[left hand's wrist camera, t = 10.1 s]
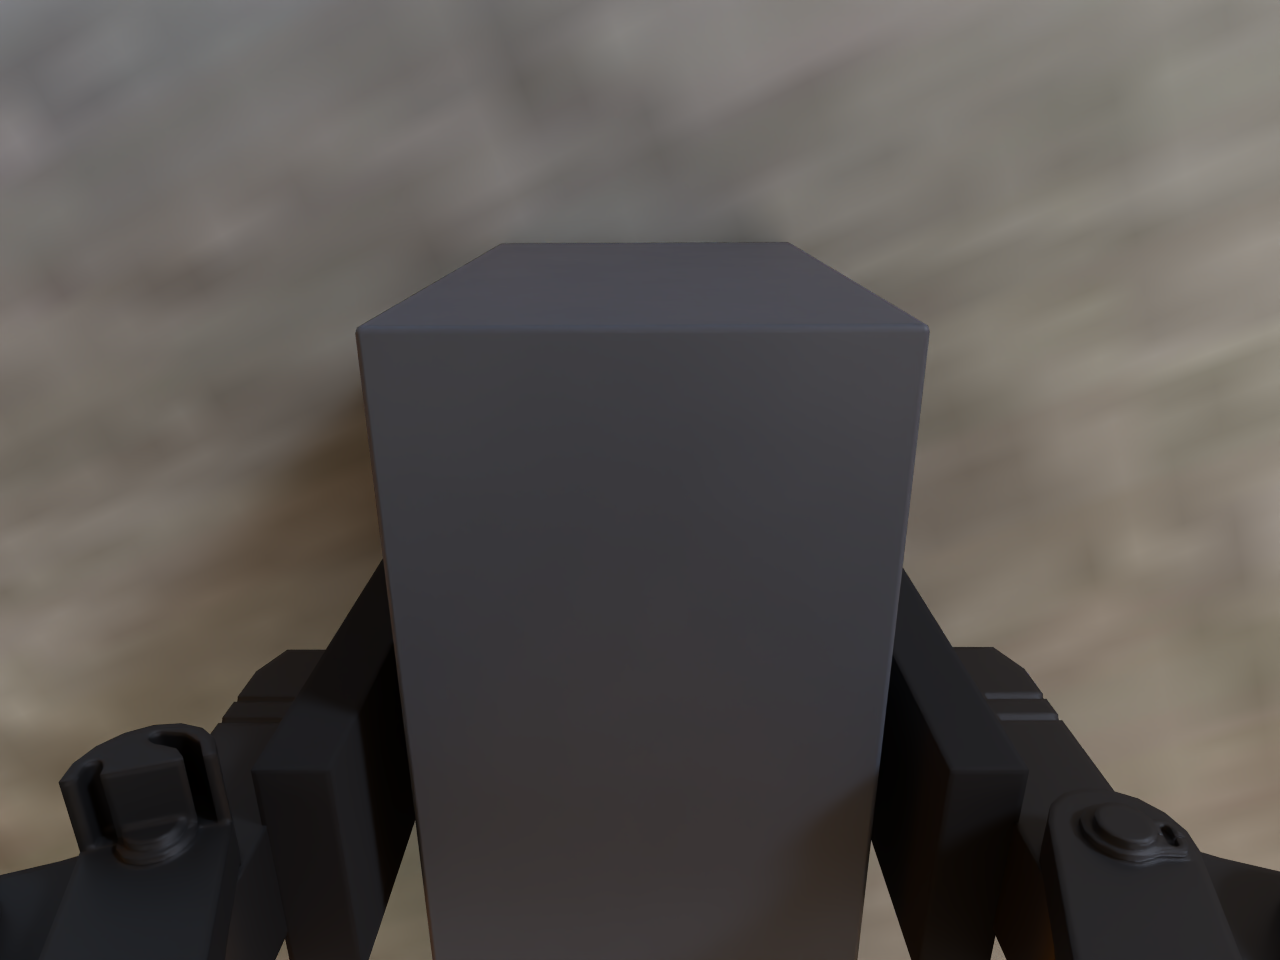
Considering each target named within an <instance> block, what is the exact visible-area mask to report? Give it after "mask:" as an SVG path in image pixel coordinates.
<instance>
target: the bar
mask: <svg viewBox="0 0 1280 960" xmlns="http://www.w3.org/2000/svg"><path fill="white" fill-rule="evenodd" d="M929 333H930V331H929V327H928V325H926V324H924V323H923V322H921V321H919V320H918V319H916V318H914V317H913V316H911V315H909V314H908V313H906V312H904V311H903V310H901V309H899V308H898V307H896V306H894V305H893V304H891V303H889V302H888V301H886V300H884V299H883V298H881V297H879V296H878V295H876V294H874V293H873V292H871V291H869V290H868V289H866V288H864V287H863V286H861V285H859V284H857V283H856V282H854V281H852V280H851V279H849V278H847V277H846V276H844V275H842V274H841V273H839V272H837V271H836V270H834V269H832V268H831V267H829V266H827V265H826V264H824V263H822V262H821V261H819V260H817V259H816V258H814V257H812V256H811V255H809V254H807V253H806V252H804V251H802V250H801V249H799V248H797V247H796V246H794V245H792V244H790V243H788V242H764V243H541V244H500V245H498V246H496V247H495V248H493V249H491V250H489V251H488V252H486V253H484V254H483V255H481V256H479V257H477V258H476V259H474V260H472V261H471V262H469V263H467V264H465V265H464V266H462V267H460V268H459V269H457V270H455V271H453V272H452V273H450V274H448V275H447V276H445V277H443V278H441V279H440V280H438V281H436V282H434V283H433V284H431V285H429V286H428V287H426V288H424V289H422V290H421V291H419V292H417V293H416V294H414V295H412V296H410V297H409V298H407V299H405V300H404V301H402V302H400V303H398V304H397V305H395V306H393V307H392V308H390V309H388V310H386V311H385V312H383V313H381V314H380V315H378V316H376V317H374V318H373V319H371V320H369V321H367V322H366V323H364V324H362V325H361V326H359V327H357V329H356V333H355V335H356V343H357V351H358V359H359V367H360V375H361V383H362V391H363V399H364V408H365V416H366V424H367V432H368V440H369V448H370V456H371V464H372V472H373V480H374V489H375V497H376V505H377V513H378V521H379V529H380V537H381V545H382V553H383V561H384V570H385V578H386V586H387V594H388V602H389V610H390V618H391V626H392V634H393V642H394V650H395V659H396V667H397V675H398V683H399V691H400V699H401V707H402V715H403V723H404V731H405V740H406V748H407V756H408V764H409V772H410V780H411V788H412V796H413V804H414V812H415V820H416V829H417V837H418V845H419V853H420V861H421V869H422V877H423V885H424V893H425V901H426V910H427V918H428V926H429V934H430V942H431V950H432V958H433V960H857V958H858V949H859V940H860V932H861V923H862V914H863V906H864V897H865V888H866V880H867V871H868V862H869V854H870V845H871V836H872V828H873V819H874V810H875V802H876V793H877V784H878V776H879V767H880V758H881V749H882V741H883V732H884V723H885V715H886V706H887V697H888V689H889V680H890V671H891V663H892V654H893V645H894V637H895V628H896V619H897V611H898V602H899V593H900V585H901V576H902V567H903V559H904V550H905V541H906V533H907V524H908V515H909V507H910V498H911V489H912V481H913V472H914V463H915V455H916V446H917V437H918V428H919V420H920V411H921V402H922V394H923V385H924V376H925V368H926V359H927V350H928V342H929Z"/></svg>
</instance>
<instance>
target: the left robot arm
mask: <svg viewBox="0 0 1280 960" xmlns="http://www.w3.org/2000/svg"><path fill="white" fill-rule="evenodd" d="M59 785H60V788H61V791H62V795H63V798H64V801H65V804H66V808H67V811H68V814H69V817H70V821H71V824H72V827H73V830H74V834H75V837H76V840H77V843H78V846H79V850H80V854H79V856H77V857H73V858H70V859H67V860H63V861H60V862H55V863H51V864H47V865H42V866H38V867H34V868H29V869H25V870H21V871H16V872H12V873H8V874H3V875H0V960H275V959H276V957H277V955H278V953H279V950H280V948H281V946H282V944H283V942H284V939H285V940H286V945H287V950H288V954H289V959H290V960H369V957H370V954H371V951H372V948H373V945H374V942H375V939H376V936H377V933H378V930H379V927H380V924H381V921H382V918H383V915H384V912H385V909H386V906H387V903H388V900H389V897H390V894H391V891H392V888H393V885H394V882H395V879H396V876H397V873H398V870H399V867H400V864H401V861H402V858H403V855H404V852H405V849H406V846H407V843H408V840H409V837H410V834H411V831H412V828H413V825H414V822H415V812H414V804H413V796H412V788H411V780H410V772H409V764H408V756H407V748H406V740H405V731H404V723H403V715H402V707H401V699H400V691H399V683H398V675H397V667H396V659H395V650H394V642H393V634H392V626H391V618H390V610H389V602H388V594H387V586H386V578H385V570H384V561H383V559H382V561H381V562H380V564H379V566H378V567H377V569H376V570H375V572H374V574H373V575H372V577H371V578H370V580H369V582H368V583H367V585H366V586H365V588H364V590H363V591H362V593H361V594H360V596H359V598H358V599H357V601H356V602H355V604H354V606H353V607H352V609H351V610H350V612H349V614H348V615H347V617H346V618H345V620H344V622H343V623H342V625H341V626H340V628H339V630H338V631H337V633H336V634H335V636H334V638H333V639H332V641H331V642H330V644H329V646H328V647H327V649H326V650H286V651H285V652H283V653H282V654H281V655H279V656H278V657H276V658H275V659H273V660H272V661H271V662H269V663H268V664H266V665H265V666H263V667H262V668H261V669H259V670H258V671H256V673H255V674H254V675H253V677H252V678H251V679H250V681H249V682H248V684H247V685H246V686H245V688H244V689H243V690H242V692H241V693H240V694H239V696H238V701H237V702H234V703H233V704H232V705H231V707H230V708H229V709H228V711H227V712H226V714H225V715H224V716H223V718H222V723H218V725H217V726H216V727H215V729H214V730H213V731H212V733H211V734H209V733H208V732H207V731H205V730H204V729H203V728H200V727H196V726H191V725H187V724H182V723H179V724H163V725H153V726H149V727H145V728H141V729H138V730H134V731H130V732H126V733H124V734H121V735H119V736H117V737H115V738H113V739H111V740H109V741H106V742H104V743H102V744H100V745H98V746H96V747H95V748H93V749H92V750H91V751H89V752H88V753H87V754H85V755H84V756H82V757H81V758H80V759H78V760H77V761H76V762H74V763H73V764H72V765H71V767H70V768H69V769H68V771H67V772H66V773H65V775H64V776H63V777H62V779H61V780H60V781H59ZM871 840H872V843H873V846H874V849H875V852H876V855H877V858H878V861H879V864H880V867H881V870H882V873H883V876H884V879H885V882H886V885H887V888H888V891H889V894H890V897H891V900H892V903H893V906H894V909H895V912H896V915H897V918H898V921H899V924H900V927H901V930H902V933H903V936H904V939H905V942H906V945H907V948H908V951H909V954H910V957H911V960H990V959H991V954H992V949H993V945H994V940H995V935H996V937H997V940H998V942H999V944H1000V946H1001V948H1002V951H1003V953H1004V955H1005V957H1006V960H1280V872H1279V871H1275V870H1271V869H1266V868H1262V867H1258V866H1253V865H1249V864H1245V863H1240V862H1236V861H1232V860H1227V859H1223V858H1219V857H1216V856H1212V855H1209V854H1206V853H1202V852H1200V851H1199V849H1198V847H1197V846H1196V844H1195V843H1194V841H1193V840H1192V838H1191V837H1190V835H1189V834H1188V832H1187V831H1186V830H1185V829H1184V828H1182V827H1181V826H1180V825H1179V824H1178V823H1176V822H1175V821H1174V820H1173V819H1172V818H1171V817H1169V816H1168V815H1167V814H1166V813H1164V812H1163V811H1161V810H1159V809H1157V808H1155V807H1153V806H1151V805H1149V804H1147V803H1145V802H1144V801H1142V800H1140V799H1138V798H1135V797H1131V796H1128V795H1125V794H1121V793H1118V792H1115V791H1114V790H1113V789H1112V787H1111V786H1110V785H1109V783H1108V782H1107V781H1106V779H1105V778H1104V776H1103V775H1102V774H1101V772H1100V771H1099V770H1098V768H1097V767H1096V766H1095V764H1094V763H1093V762H1092V760H1091V759H1090V757H1089V756H1088V755H1087V753H1086V752H1085V751H1084V749H1083V748H1082V747H1081V745H1080V744H1079V743H1078V741H1077V740H1076V738H1075V737H1074V736H1073V734H1072V733H1071V732H1070V730H1069V729H1068V728H1067V726H1066V725H1065V724H1064V722H1063V721H1062V720H1059V719H1058V714H1057V713H1056V711H1055V710H1054V709H1053V707H1052V706H1051V705H1050V703H1049V702H1048V700H1047V699H1043V694H1042V692H1041V691H1040V690H1039V688H1038V687H1037V686H1036V684H1035V683H1034V681H1033V680H1032V679H1031V677H1030V676H1029V675H1028V673H1027V672H1026V671H1025V669H1024V668H1022V667H1021V666H1019V665H1018V664H1017V663H1015V662H1014V661H1012V660H1011V659H1009V658H1008V657H1007V656H1005V655H1004V654H1002V653H1001V652H999V651H998V650H996V649H995V648H994V647H952V646H951V644H950V642H949V641H948V639H947V638H946V636H945V634H944V633H943V631H942V630H941V628H940V626H939V625H938V623H937V622H936V620H935V618H934V617H933V615H932V614H931V612H930V610H929V609H928V607H927V606H926V604H925V602H924V601H923V599H922V598H921V596H920V594H919V593H918V591H917V590H916V588H915V586H914V585H913V583H912V582H911V580H910V578H909V577H908V575H907V574H906V572H905V570H904V569H903V567H902V576H901V585H900V593H899V602H898V611H897V619H896V628H895V637H894V645H893V654H892V663H891V671H890V680H889V689H888V697H887V706H886V715H885V723H884V732H883V741H882V749H881V758H880V767H879V776H878V784H877V793H876V802H875V810H874V819H873V828H872V836H871Z"/></svg>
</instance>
